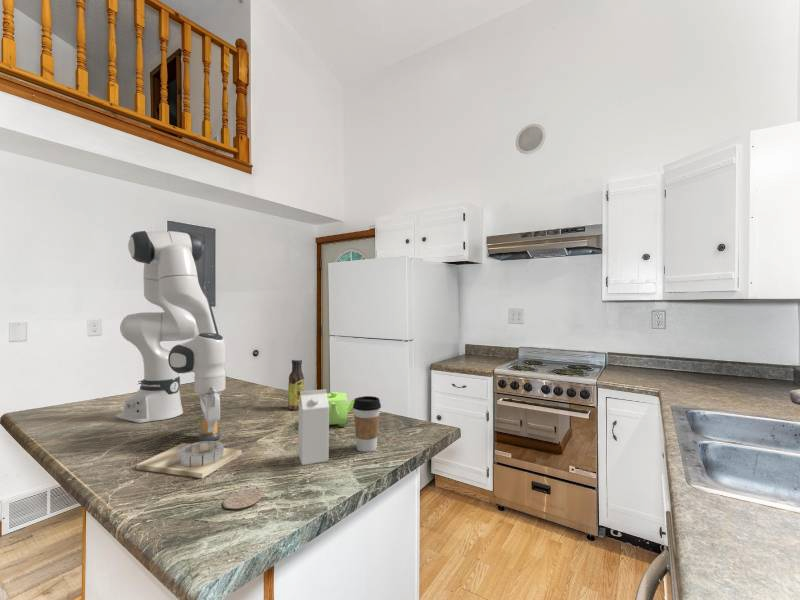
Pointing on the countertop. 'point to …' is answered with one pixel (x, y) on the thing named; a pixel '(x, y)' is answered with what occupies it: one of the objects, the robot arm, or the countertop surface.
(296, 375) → the sauce bottle
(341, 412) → the kettle
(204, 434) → the orange dark-based block
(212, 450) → the faceted grey ring
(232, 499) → the flatbread
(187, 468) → the board
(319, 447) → the milk carton
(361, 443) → the coffee cup
